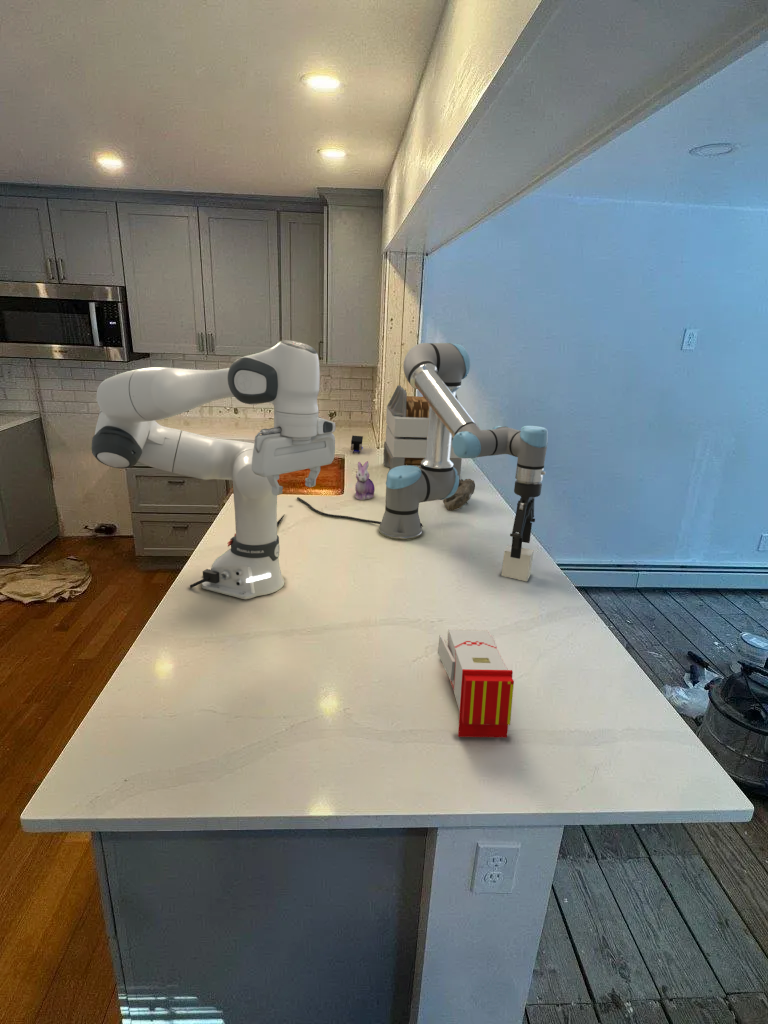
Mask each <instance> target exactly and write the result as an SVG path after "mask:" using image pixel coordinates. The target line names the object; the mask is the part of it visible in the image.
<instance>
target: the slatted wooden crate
mask: <svg viewBox="0 0 768 1024" xmlns="http://www.w3.org/2000/svg"><path fill="white" fill-rule="evenodd" d="M407 394H408V393H407V390H406V389H404V388H403V387H402V385H399V384H398V385H397V386H396V388H395V390H394V392H393V394H392V395H391V398H390V400H389V402H388V404H387V405H386V413H385V414H386V415H385V423H386V428H385V438H384V442H383V466H384V467H388V468H389V471H390V470H391V469H392V468H395V467H398V466H404V465H406V466H408V465H412V466H417V467H420V466H421V461H422V460H423V459H424V458H425V457H426V443H427V430H428V417H429V404H428V402H427V401H426V400H425V398H424V397H423V396H415V395H414V396H413V395H412V396H411V395H407ZM455 398H456V399H457V400H458V401H459V398H458V395H457V394H456V396H455ZM452 441H453V436H452V440H451V451H450V460H451V461H452V463H453V464H454V465H453V467H454V468H455V469H456V470H457V472H458V474H457V475H458V476H459V480H461V472H462V461H463V460H462V459H463V458H459V457H458V456H456V455H455V453H454V448H453V447H452Z"/></svg>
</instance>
